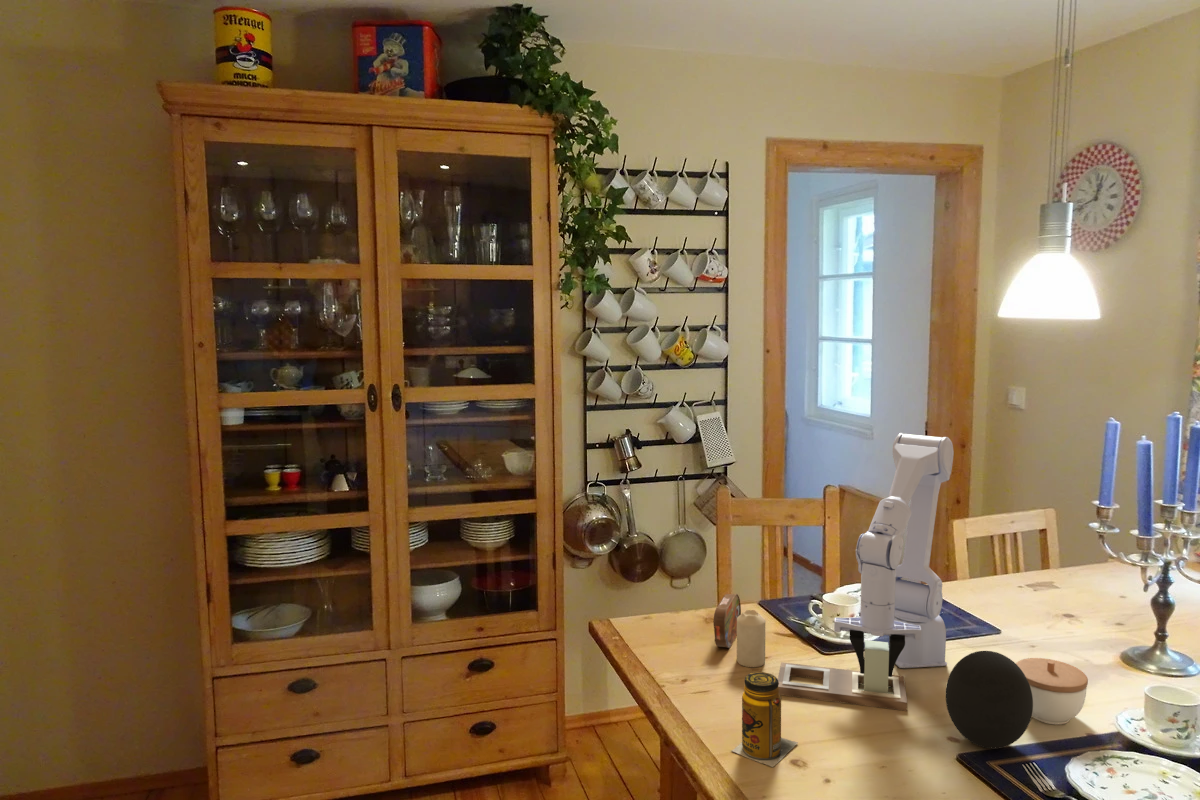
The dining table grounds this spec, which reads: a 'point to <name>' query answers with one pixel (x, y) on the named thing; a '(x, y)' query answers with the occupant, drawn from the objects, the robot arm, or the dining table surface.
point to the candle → (751, 639)
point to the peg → (876, 666)
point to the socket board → (839, 686)
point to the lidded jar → (1054, 689)
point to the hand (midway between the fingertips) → (875, 672)
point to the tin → (726, 620)
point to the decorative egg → (989, 699)
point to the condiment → (762, 720)
